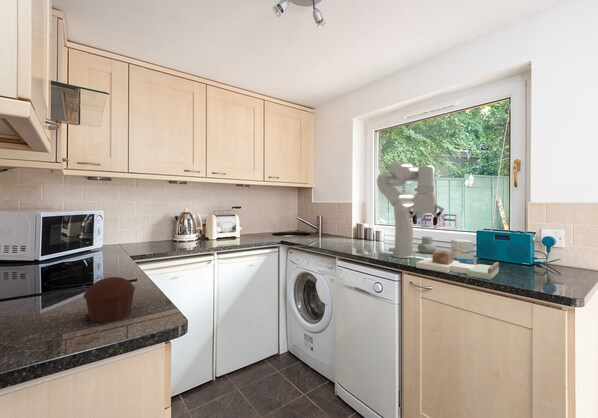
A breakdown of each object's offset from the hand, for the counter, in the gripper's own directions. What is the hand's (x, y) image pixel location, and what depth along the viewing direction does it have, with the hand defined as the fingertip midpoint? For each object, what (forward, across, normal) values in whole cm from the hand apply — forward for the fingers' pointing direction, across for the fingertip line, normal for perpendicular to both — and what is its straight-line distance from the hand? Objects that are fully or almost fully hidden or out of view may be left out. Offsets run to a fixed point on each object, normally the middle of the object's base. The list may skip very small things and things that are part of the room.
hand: (424, 224), depth 141 cm
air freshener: (+21, -11, +36) cm, 43 cm away
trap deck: (+20, +15, 0) cm, 25 cm away
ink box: (+20, +12, +21) cm, 32 cm away
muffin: (+20, -37, -126) cm, 133 cm away
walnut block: (+18, +9, 0) cm, 20 cm away
